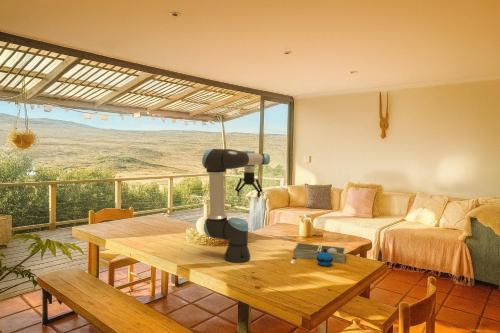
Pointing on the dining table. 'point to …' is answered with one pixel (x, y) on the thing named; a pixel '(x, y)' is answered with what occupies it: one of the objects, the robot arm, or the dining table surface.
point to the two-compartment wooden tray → (317, 252)
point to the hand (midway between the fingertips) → (248, 201)
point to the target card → (293, 261)
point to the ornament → (324, 258)
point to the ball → (332, 250)
